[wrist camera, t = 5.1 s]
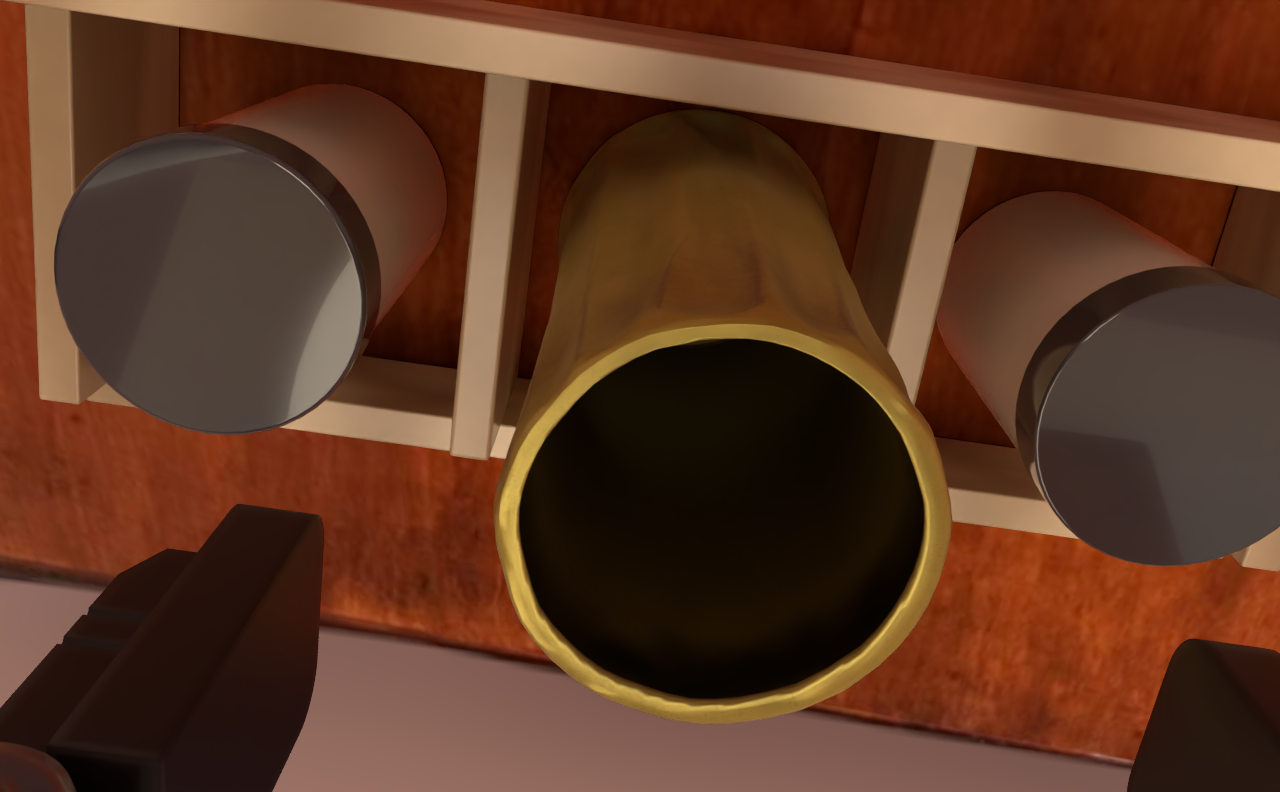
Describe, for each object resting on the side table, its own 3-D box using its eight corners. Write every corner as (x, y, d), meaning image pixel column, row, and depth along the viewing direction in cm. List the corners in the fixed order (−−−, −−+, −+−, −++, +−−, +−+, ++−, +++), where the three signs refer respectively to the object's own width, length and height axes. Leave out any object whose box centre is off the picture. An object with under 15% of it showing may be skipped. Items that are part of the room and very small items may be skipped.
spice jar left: (226, 284, 27) (56, 415, 20) (231, 62, 26) (45, 109, 18) (442, 315, 28) (356, 457, 20) (461, 96, 26) (376, 159, 18)
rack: (144, 356, 28) (13, 458, 22) (142, -52, 25) (-11, -53, 19) (1169, 500, 29) (1290, 633, 23) (1295, 123, 26) (1472, 171, 20)
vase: (520, 315, 27) (383, 660, 14) (618, 61, 25) (568, 184, 12) (761, 410, 28) (848, 823, 15) (876, 171, 26) (1097, 400, 13)
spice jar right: (908, 381, 28) (1001, 545, 20) (959, 170, 26) (1082, 262, 18) (1116, 411, 28) (1287, 586, 20) (1180, 204, 26) (1393, 307, 19)
